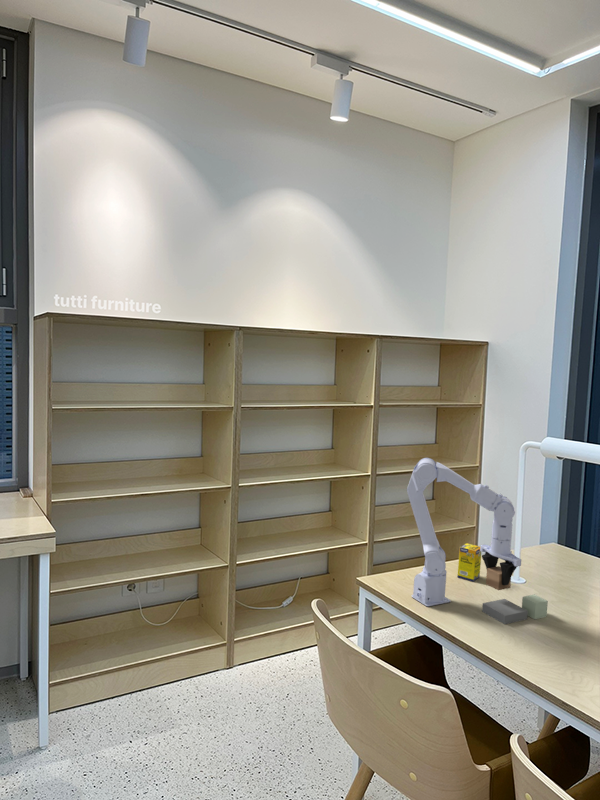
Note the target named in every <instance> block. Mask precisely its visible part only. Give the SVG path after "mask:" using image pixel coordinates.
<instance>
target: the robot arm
mask: <svg viewBox="0 0 600 800" xmlns="http://www.w3.org/2000/svg"><path fill="white" fill-rule="evenodd" d="M435 480H436V483H440V482H447V483H450V485H453V486H454V487H456V488H458V489H460V490H461V491H463V492H465V493H467V494H469V497H470V500H471V501H472V502H474V503H476V504H478V505H479V506H481V507H482V508H483V509H486V510H487V511H489V512H493V521H492V524H491V539H490V540H491V541H490V545H488V544H485V543H484V544H480V551H482V552H481V553H483V552H484V554H481V559H482V560H483V562H484V566H485V569H486V570H487V568H492V567H497V565H498V563H499V566H500V567H501V571H502V585H504V586H505V585H508V584H509V581H510V579H511V580H512V576H513V574H514V572H515V570H516V569H517V568H518V567H520V566H522V559H521V558H519V557H518V556H517V555H515V554H513V553H512V550H511V549H512V536H513V535H512V534H513V518H514V516H515V513H516V511H515V507H514V505H513V502H512V501H511V499H509V498H508V497H507V496H504V495H503V494H501V493H497V492H495V491H494V490H492V489H490V486H489V485H487V484H486V483H485V484H482V483H477V484H474V483H472V481H471V482H470V481H469V480H467V479H466V478H464V476H462V475H460V474H458V472H456V471H454V470H453V469H452V468H449V467H448V466H446V465H444V464H443V463H441V462H438V461H435V460H434V459H432V458H430V457H423V458H421V459H420V460H419V461H418V462H417V463H416V465H415V466H414V467H413V470H412V474H411V476H410V479H409V482H408V484H407V488H406V492H407V496H408V499H409V500H408V501H409V502H410V503H409V504H410V507H411V509H412V513H413V516H414V521H415V523H416V527H417V530H418V533H419V536H420V539H421V544H422V548H423V554H424V559H425V560H424V566H423V568H422V571H421V572H419V573H417V574H416V575H415V576H414V579H413V589H412V590H413V591H412V594H411V597H412V598H413V599H415V601H417V602H419V603H421V605H424V606H426V607H432V606H437V605H441V604H447V603H451V602H452V600H451V599H449V598H448V597H446V585H447V573H448V571H447V570H446V566H447V565H446V560H447V559H446V558H447V556H446V555H447V554H446V552H445V550H444V549H443V547H441V545H440V541H439V540H438V537H437V535H436V531H435V528H434V525H433V521H432V518H431V515H430V511H429V508H428V504H427V501H426V497H425V495H424V491H425V490H426V488H427V486H429V484H432V483H433V482H434V481H435ZM499 559H500V560H503V561H501V562H498V561H499Z"/></svg>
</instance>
